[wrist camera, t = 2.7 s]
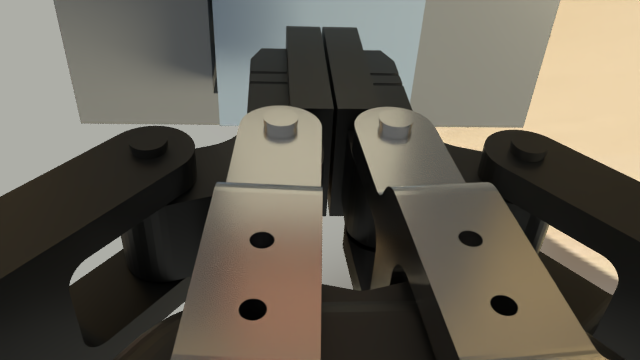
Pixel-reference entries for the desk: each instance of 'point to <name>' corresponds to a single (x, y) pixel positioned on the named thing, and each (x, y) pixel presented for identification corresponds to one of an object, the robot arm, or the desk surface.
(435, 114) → the key console
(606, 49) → the desk surface
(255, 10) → the blue-grey block
